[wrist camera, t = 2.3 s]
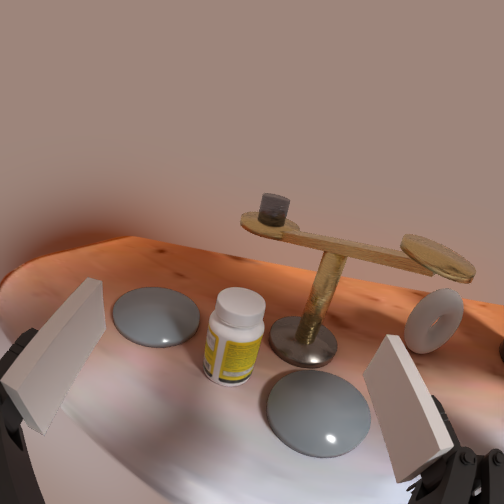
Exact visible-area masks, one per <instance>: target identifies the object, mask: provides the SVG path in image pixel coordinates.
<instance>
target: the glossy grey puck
mask: <svg viewBox="0 0 504 504" xmlns="http://www.w3.org/2000/svg"><path fill="white" fill-rule="evenodd" d="M266 412H267V418H268V421H269V424H270V426H271V428H272V430H273V431H274V433H275V434H276V435H277V436H278V438H279V439H280V440H281V441H282V442H283V443H285V444H286V445H287V446H289V447H290V448H292V449H293V450H295V451H297V452H299V453H301V454H304V455H307V456H311V457H317V458H332V457H337V456H341V455H344V454H346V453H348V452H350V451H351V450H353V449H354V448H355V447H357V446H358V445H359V444H360V443H361V442H362V440H363V439H364V438H365V437H366V435H367V433H368V431H369V428H370V423H371V415H370V410H369V407H368V404H367V402H366V400H365V399H364V397H363V396H362V394H361V393H360V392H359V391H358V390H357V389H356V388H355V387H354V386H353V385H351V384H350V383H349V382H347V381H346V380H344V379H342V378H340V377H338V376H336V375H333V374H330V373H327V372H323V371H316V370H303V371H297V372H294V373H291V374H288V375H286V376H285V377H283V378H281V379H280V380H279V381H278V382H277V383H276V384H275V385H274V387H273V389H272V390H271V393H270V395H269V398H268V401H267V409H266Z"/></svg>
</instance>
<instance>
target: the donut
mask: <svg viewBox="0 0 504 504" xmlns="http://www.w3.org/2000/svg"><path fill="white" fill-rule="evenodd" d="M463 310H464V308H463V301H462V299H461V297H460V295H459V294H458V293H457V292H456V291H454V290H451V289H448V288H445V289H439V290H436V291H435V292H432V293H430V294H428V295H427V296H426V297H425V298H423V299H422V300H421V301H420V302H419V303H418V304H417V305H416V307H415V308H414V309H413V311H412V312H411V314H410V316H409V317H408V320H407V323H406V325H405V329H404V339H405V342H406V345H407V347H408V348H409V349H410V350H412V351H413V352H415V353H421V354H424V353H429V352H432V351H434V350H436V349H438V348H439V347H441V346H442V345H443V344H444V343H446V342H447V341H448V340H449V339H450V337H451V336H452V335H453V334H454V332H455V331H456V330H457V328H458V326H459V324H460V322H461V320H462V316H463ZM439 317H440V318H439ZM438 318H439V319H438ZM437 319H438V321H437V322H436V323H435V324H434V325H433V326H432V324H433V323H434V322H435V321H436V320H437ZM431 326H432V327H431Z"/></svg>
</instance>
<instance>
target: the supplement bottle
mask: <svg viewBox="0 0 504 504" xmlns="http://www.w3.org/2000/svg"><path fill="white" fill-rule="evenodd" d="M265 308H266V303H265V300H264V299H263V297H262V296H261V295H259V294H258V293H256V292H254V291H252V290H249V289H246V288H241V287H231V288H226V289H224V290H222V291H221V292H220V293H219V294H218V297H217V301H216V305H215V310H214V311H213V312H212V313H211V315H210V318H209V323H208V330H207V338H206V345H205V352H204V361H203V369H204V372H205V374H206V375H207V377H208V378H209V379H210V380H212V381H213V382H215V383H217V384H220V385H223V386H229V387H233V386H238V385H241V384H243V383H245V382H246V381H247V380H248V379H249V378H250V376H251V373H252V371H253V367H254V364H255V360H256V357H257V354H258V350H259V347H260V343H261V340H262V336H263V333H264V322H263V317H264V312H265Z"/></svg>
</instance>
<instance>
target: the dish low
mask: <svg viewBox="0 0 504 504" xmlns="http://www.w3.org/2000/svg"><path fill="white" fill-rule="evenodd" d="M113 319H114V324H115V326H116V328H117V330H118V331H119V332H120V333H121V334H122V335H123V336H124V337H125V338H127V339H128V340H130V341H132V342H134V343H136V344H139V345H142V346H147V347H154V348H164V347H171V346H175V345H178V344H181V343H183V342H185V341H187V340H188V339H190V338H191V337H192V336H193V335H194V334H195V333H196V331H197V329H198V326H199V320H200V313H199V310H198V308H197V306H196V304H195V303H194V302H193V301H192V300H191V299H190V298H188V297H187V296H185V295H183V294H181V293H179V292H177V291H174V290H171V289H166V288H159V287H145V288H139V289H135V290H132V291H130V292H127V293H126V294H124V295H123V296H121V297H120V298H119V299H118V300H117V301H116V303H115V305H114V308H113Z"/></svg>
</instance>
